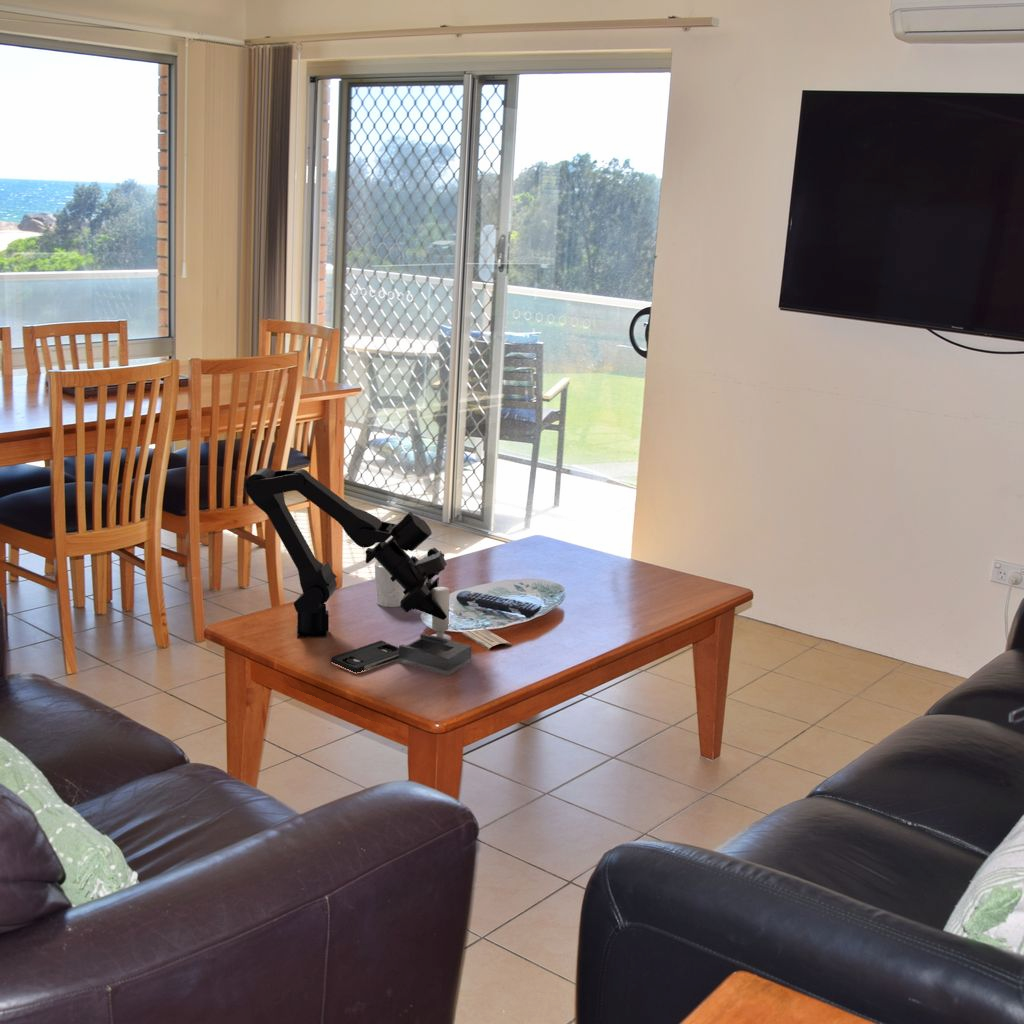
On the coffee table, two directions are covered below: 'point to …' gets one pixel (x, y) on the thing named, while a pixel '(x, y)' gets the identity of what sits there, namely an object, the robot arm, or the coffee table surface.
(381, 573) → the white cup
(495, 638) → the newspaper
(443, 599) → the post
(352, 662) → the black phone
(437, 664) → the keyhole plate
